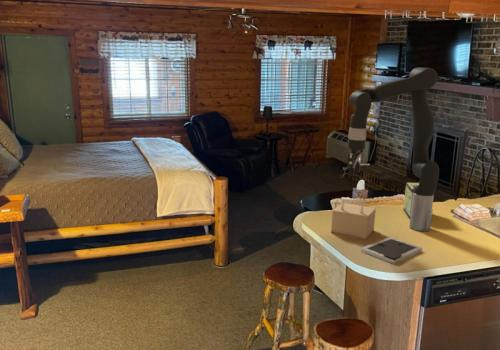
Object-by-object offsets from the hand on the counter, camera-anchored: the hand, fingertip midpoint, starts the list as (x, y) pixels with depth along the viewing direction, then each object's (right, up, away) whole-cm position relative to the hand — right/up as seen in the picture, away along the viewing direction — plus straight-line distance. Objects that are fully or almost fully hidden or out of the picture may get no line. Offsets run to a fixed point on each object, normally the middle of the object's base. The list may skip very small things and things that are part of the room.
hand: (353, 174), depth 211 cm
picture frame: (+13, -33, -12) cm, 38 cm away
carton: (+2, -27, +10) cm, 28 cm away
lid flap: (+2, -17, +7) cm, 18 cm away
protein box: (+40, -21, +36) cm, 58 cm away
